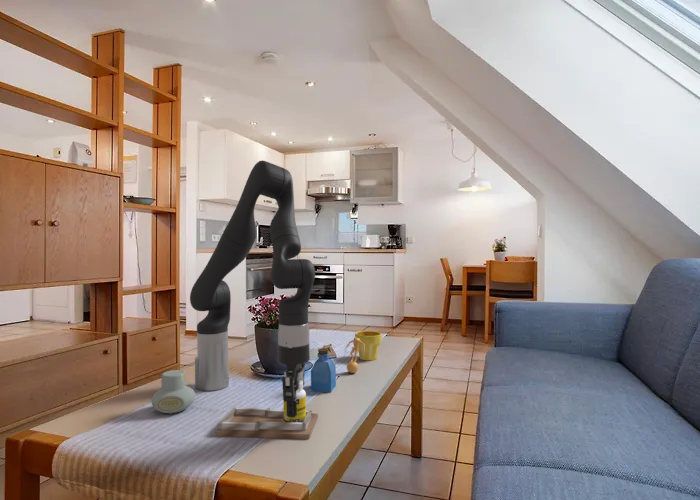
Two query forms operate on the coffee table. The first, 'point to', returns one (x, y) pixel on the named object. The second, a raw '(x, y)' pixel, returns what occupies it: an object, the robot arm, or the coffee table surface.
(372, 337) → the plant pot
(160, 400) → the air freshener
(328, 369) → the perfume bottle
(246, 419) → the brown rectangular tray
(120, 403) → the coffee table surface
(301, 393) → the supplement bottle
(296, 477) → the coffee table surface
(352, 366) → the figurine
